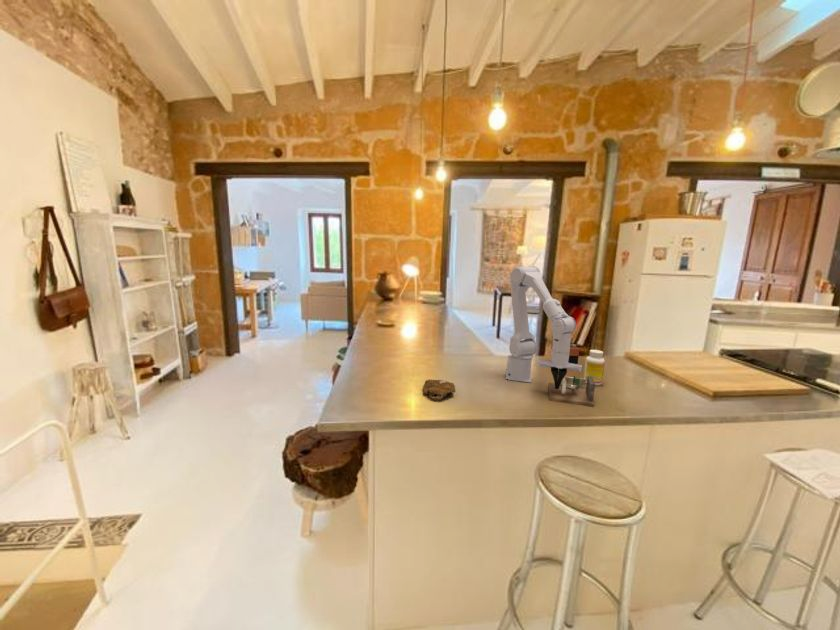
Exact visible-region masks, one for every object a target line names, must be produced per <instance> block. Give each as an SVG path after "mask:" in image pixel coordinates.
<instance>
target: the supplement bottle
mask: <svg viewBox="0 0 840 630" xmlns="http://www.w3.org/2000/svg"><path fill="white" fill-rule="evenodd" d="M603 356H604V351H602V350H599V349H590V350H589V356H587V357H585V365H584V374H583V379H586V383H585V384H587V377H588V376H592V377H593V380H594V382H595V386H601V385H602V384H603V381H604V379H603V378H604V372H605V371H604V370H605V362H606V361H605V359H604V357H603Z"/></svg>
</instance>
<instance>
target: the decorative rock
mask: <svg viewBox="0 0 840 630" xmlns="http://www.w3.org/2000/svg"><path fill="white" fill-rule="evenodd" d="M422 388H423V389H422V390H423V394H425V395H428V396H429V397H430V398H431V399H432V400H433V401H442V400H444V397H447V396H448V395H449V394H450V393H452V394H453V393H456V385H455V384H454V383H453V382H451V381H447V380H442V379H426V380H425V381H424V383H423V386H422Z"/></svg>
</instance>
